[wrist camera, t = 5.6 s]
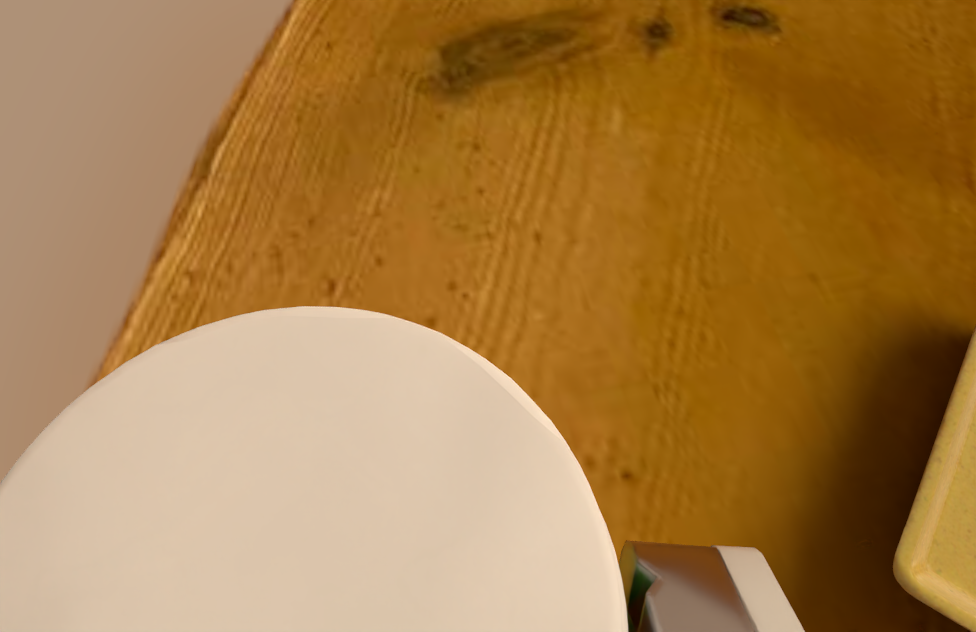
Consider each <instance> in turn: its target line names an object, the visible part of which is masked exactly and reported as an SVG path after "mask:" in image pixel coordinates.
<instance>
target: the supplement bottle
mask: <svg viewBox="0 0 976 632" xmlns="http://www.w3.org/2000/svg"><path fill="white" fill-rule="evenodd" d="M0 632H628V620H627V607H626V601H625V595H624V589H623V582H622V577H621V573H620V569H619V565H618V561H617V557H616V553H615V549H614V546H613V544H612V541H611V538H610V535H609V532H608V529H607V526H606V524H605V521H604V519H603V517H602V514H601V512H600V510H599V507H598V505H597V502H596V500H595V497H594V495H593V492H592V490H591V487H590V485H589V483H588V481H587V479H586V477H585V475H584V473H583V470H582V468H581V466H580V464H579V463H578V461H577V459H576V458H575V456H574V454H573V453H572V451H571V449H570V448H569V446H568V444H567V443H566V441H565V440H564V438H563V437H562V435H561V434H560V433H559V431H558V430H557V429H556V427H555V426H554V424H553V423H552V422H551V420H550V419H549V418H548V417H547V416H546V415H545V414H544V413H543V411H542V410H541V409H540V408H539V407H538V406H537V405H536V404H535V403H534V401H533V400H532V399H531V398H530V397H529V396H528V395H527V394H526V393H525V392H524V391H523V390H522V389H521V388H520V387H519V386H518V385H517V384H516V383H515V382H514V381H513V380H512V379H511V378H510V377H509V376H507V375H506V374H505V373H503V372H502V371H501V370H500V369H498V368H497V367H496V366H494V365H493V364H492V363H490V362H489V361H488V360H486V359H485V358H483V357H482V356H480V355H479V354H477V353H475V352H474V351H472V350H470V349H469V348H467V347H466V346H464V345H462V344H460V343H458V342H456V341H455V340H453V339H451V338H449V337H447V336H445V335H444V334H442V333H439V332H437V331H434V330H432V329H429V328H427V327H424V326H421V325H419V324H416V323H414V322H410V321H407V320H403V319H400V318H397V317H393V316H390V315H387V314H383V313H377V312H372V311H366V310H359V309H350V308H341V307H311V306H301V307H291V308H281V309H271V310H262V311H257V312H252V313H248V314H243V315H238V316H234V317H231V318H227V319H224V320H221V321H217V322H214V323H210V324H207V325H203V326H200V327H198V328H195V329H193V330H190V331H188V332H185V333H183V334H181V335H178V336H176V337H173V338H171V339H169V340H166V341H164V342H162V343H160V344H158V345H155V346H154V347H152V348H150V349H148V350H147V351H145V352H143V353H141V354H140V355H138V356H136V357H134V358H132V359H131V360H129V361H127V362H125V363H124V364H123V365H121V366H120V367H118V368H117V369H116V370H114V371H113V372H111V373H110V374H109V375H107V376H106V377H104V378H103V379H102V380H100V381H99V382H97V383H96V384H94V385H93V386H91V387H90V388H89V389H87V390H86V391H85V392H84V393H83V394H81V395H80V396H79V397H78V398H77V399H75V400H74V401H73V402H72V403H71V404H69V405H68V406H67V407H66V408H65V409H64V410H63V411H62V412H61V413H60V414H59V415H58V416H57V417H56V418H55V419H54V420H53V421H52V422H51V423H50V424H49V425H48V426H47V427H46V428H45V429H44V430H43V431H42V432H41V433H40V434H39V435H38V436H37V438H36V439H35V440H34V441H33V442H32V443H31V444H30V445H29V447H28V448H27V449H26V450H25V451H24V452H23V453H22V455H21V456H20V457H19V458H18V460H17V461H16V462H15V464H14V465H13V467H12V468H11V469H10V470H9V472H8V473H7V474H6V476H5V477H4V478H3V480H2V481H1V482H0Z"/></svg>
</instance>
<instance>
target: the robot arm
mask: <svg viewBox="0 0 976 632" xmlns="http://www.w3.org/2000/svg"><path fill="white" fill-rule="evenodd" d="M619 569H620V573H621V577H622V582H623V589H624V595H625V601H626V607H627V620H628V632H805V631H804V629H803V627H802V625H801V623H800V622H799V620H798V618H797V616H796V614H795V613H794V611H793V609H792V607H791V605H790V603H789V602H788V600H787V598H786V596H785V594H784V593H783V591H782V589H781V587H780V585H779V584H778V582H777V580H776V578H775V576H774V574H773V573H772V571H771V569H770V567H769V565H768V564H767V562H766V560H765V558H764V556H763V554H762V553H761V552H760V551H758V550H757V549H756V548H753V547H734V546H715V545H712V546H711V547H706V546H693V545H680V544H667V543H654V542H641V541H627V540H626V541H625V544H624V546H623V549H622V551H621V556H620V561H619Z"/></svg>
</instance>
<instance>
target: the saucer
mask: <svg viewBox="0 0 976 632" xmlns="http://www.w3.org/2000/svg"><path fill="white" fill-rule="evenodd" d="M893 572H894V576H895V578H896V580H897V582H898V583H899V584H900V585H901V587H902V588H903V589H904V590H905V591H906V592H908V593H909V594H910V595H912V596H913V597H914V598H916V599H918V600H919V601H921V602H923V603H924V604H926V605H927V606H929V607H931V608H933V609H934V610H936V611H938V612H939V613H941V614H943V615H944V616H946V617H947V618H949V619H951V620H952V621H954V622H956V623H957V624H959V625H961V626H962V627H964V628H966V629H967V630H969V631H971V632H976V326H975V329H974V332H973V334H972V337H971V340H970V343H969V346H968V349H967V351H966V354H965V357H964V360H963V363H962V366H961V369H960V371H959V374H958V377H957V380H956V383H955V386H954V388H953V391H952V394H951V397H950V400H949V403H948V405H947V408H946V411H945V414H944V417H943V420H942V422H941V425H940V428H939V431H938V434H937V437H936V439H935V442H934V445H933V448H932V451H931V454H930V457H929V459H928V462H927V465H926V468H925V471H924V474H923V477H922V479H921V482H920V485H919V488H918V491H917V494H916V497H915V499H914V502H913V505H912V508H911V511H910V514H909V516H908V519H907V522H906V525H905V528H904V530H903V533H902V536H901V539H900V541H899V544H898V547H897V550H896V553H895V556H894V561H893Z"/></svg>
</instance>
